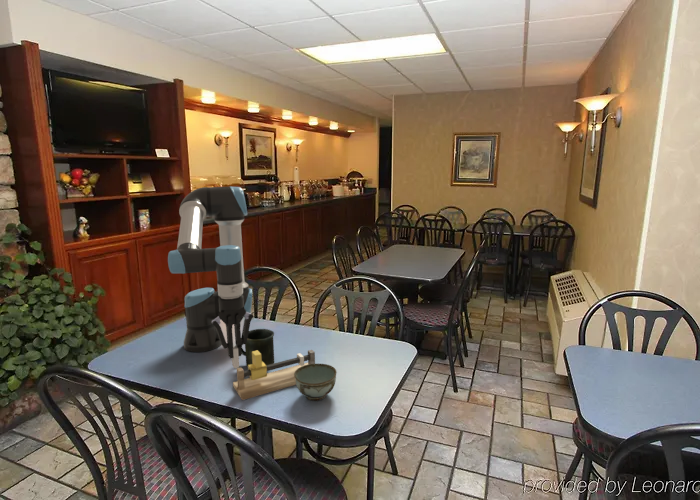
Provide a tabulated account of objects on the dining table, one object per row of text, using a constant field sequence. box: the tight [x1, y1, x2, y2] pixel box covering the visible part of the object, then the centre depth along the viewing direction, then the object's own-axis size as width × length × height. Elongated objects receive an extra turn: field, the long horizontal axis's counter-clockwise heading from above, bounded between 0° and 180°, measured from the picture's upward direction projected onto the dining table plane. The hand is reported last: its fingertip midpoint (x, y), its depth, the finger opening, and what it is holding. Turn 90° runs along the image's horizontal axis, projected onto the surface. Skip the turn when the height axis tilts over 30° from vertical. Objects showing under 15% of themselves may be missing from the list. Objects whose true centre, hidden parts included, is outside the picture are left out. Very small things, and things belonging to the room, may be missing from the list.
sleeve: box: [247, 350, 268, 380], centre depth 139 cm, size 4×5×8 cm
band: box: [296, 352, 305, 366], centre depth 147 cm, size 3×1×3 cm, turn 31°
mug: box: [241, 328, 275, 368], centre depth 156 cm, size 11×15×12 cm
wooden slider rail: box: [232, 349, 316, 401], centre depth 143 cm, size 10×28×8 cm, turn 121°
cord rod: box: [244, 354, 310, 378], centre depth 143 cm, size 1×24×1 cm, turn 121°
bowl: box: [294, 363, 338, 402], centre depth 134 cm, size 14×13×8 cm
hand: (235, 366), depth 135 cm, fingers closed
